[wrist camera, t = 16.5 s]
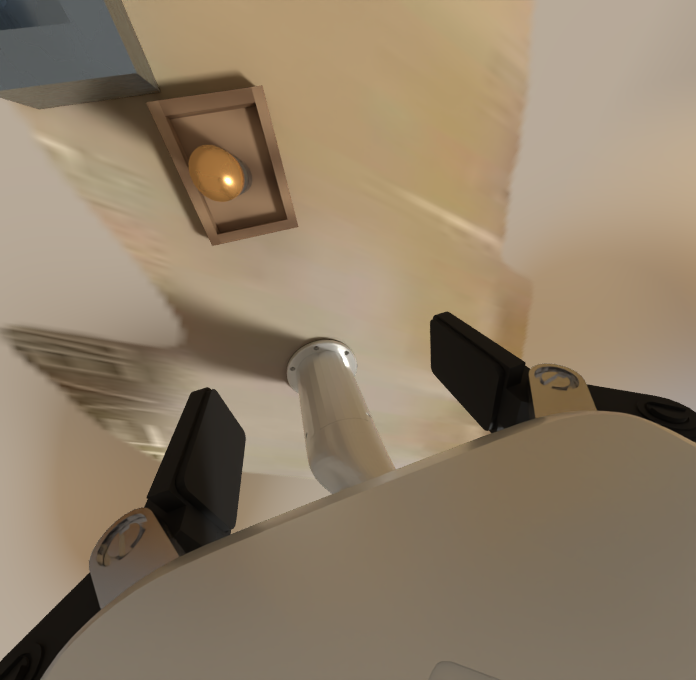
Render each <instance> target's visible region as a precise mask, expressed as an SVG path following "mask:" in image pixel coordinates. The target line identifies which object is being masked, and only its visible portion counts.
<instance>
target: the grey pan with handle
mask: <svg viewBox="0 0 696 680" xmlns="http://www.w3.org/2000/svg"><path fill="white" fill-rule="evenodd" d="M158 92H160V89H159V87H158V85H157V82H156V80H155V78H154V75H153V73H152V71H151V68H150V66H149V64H148V61H147V59H146V57H145V55H144V52H143V50H142V48H141V45H140V43H139V41H138V38H137V36H136V34H135V31H134V29H133V27H132V24H131V22H130V20H129V17H128V15H127V13H126V10H125V8H124V6H123V3H122V1H121V0H0V98H3V99H7V100H10V101H13V102H17V103H20V104H23V105H26V106H30V107H33V108H36V109H45V108H52V107H59V106H66V105H73V104H80V103H87V102H94V101H101V100H109V99H116V98H123V97H130V96H137V95H144V94H151V93H158Z"/></svg>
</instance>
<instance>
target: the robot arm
mask: <svg viewBox="0 0 696 680" xmlns="http://www.w3.org/2000/svg"><path fill="white" fill-rule="evenodd" d="M430 342H431V369H432V372H433V374H434V375H435V376H436V377H437V378H438V379H439V380H440V381H441V383H442V384H443V385H444V386H445V387H446V388H447V389H448V390H449V391H450V393H451V394H452V395H453V396H454V397H455V398H456V399H457V400H458V401H459V403H460V404H461V405H462V406H463V407H464V408H465V409H466V410H467V411H468V412H469V414H470V415H471V416H472V417H473V418H474V419H475V420H476V421H477V422H478V424H479V425H480V426H481V427H482V428H483V429H484V430H486V431H488V430H489V431H490V432H491V434H489V435H486V436H483V437H480V438H478V439H475V440H472V441H470V442H467V443H464V444H462V445H459V446H457V447H454V448H451V449H449V450H446V451H443V452H441V453H438V454H436V455H433V456H430V457H428V458H425V459H422V460H420V461H417V462H415V463H412V464H409V465H407V466H404V467H402V468H399V469H395V467H394V465H393V463H392V461H391V459H390V457H389V455H388V453H387V451H386V449H385V446H384V444H383V442H382V440H381V437H380V435H379V433H378V430H377V428H376V426H375V424H374V421H373V419H372V417H371V414H370V412H369V410H368V407H367V405H366V403H365V400H364V398H363V396H362V393H361V391H360V389H359V386H358V384H357V382H356V379H355V374H356V371H357V361H356V357H355V355H354V353H353V352H352V351H351V349H350V348H349V347H348V346H346V345H345V344H343V343H341V342H338V341H334V340H319V341H315V342H312V343H309V344H307V345H305V346H303V347H302V348H300V349H299V350H298V351H297V352H296V353H295V354H294V355H293V356H292V357H291V359H290V361H289V363H288V367H287V379H288V382H289V384H290V386H291V387H292V389H293V390H294V391H296V392H297V393H299V399H300V406H301V414H302V421H303V428H304V436H305V443H306V450H307V457H308V463H309V466H310V469H311V471H312V473H313V475H314V477H315V478H316V479H317V481H318V482H319V483H320V484H321V485H322V486H323V487H324V488H325V489H327V490H328V491H329V492H330V493H332V495H329V496H327V497H324V498H321V499H319V500H316V501H314V502H311V503H309V504H306V505H304V506H301V507H299V508H296V509H293V510H291V511H288V512H286V513H283V514H281V515H279V516H276V517H273V518H271V519H268V520H265V521H263V522H260V523H258V524H255V525H253V526H250V527H248V528H246V529H243V530H241V531H239V532H236V533H233V534H231V535H230V533H231V529H233V528H234V527H235V524H236V517H237V509H238V501H239V492H240V484H241V475H242V466H243V458H244V449H245V441H246V437H245V433H244V430H243V429H242V427H241V426H240V425H239V423H238V422H237V420H236V419H235V417H234V416H233V414H232V413H231V411H230V410H229V408H228V407H227V405H226V404H225V403H224V401H223V400H222V398H221V397H220V395H219V394H218V392H217V391H216V390H215V389H212V390H211V389H210V388H208V387H207V388H203V389H200V390H197V391H194V392H192V393H191V394H190V396H189V399H188V401H187V403H186V406H185V408H184V410H183V413H182V415H181V417H180V420H179V422H178V424H177V427H176V429H175V432H174V434H173V436H172V439H171V441H170V443H169V446H168V448H167V450H166V453H165V455H164V457H163V460H162V462H161V465H160V467H159V469H158V472H157V474H156V476H155V479H154V481H153V483H152V486H151V488H150V491H149V493H148V495H147V499H148V500H147V502H146V505H145V507H144V508H138V509H134V510H132V511H130V512H129V513H127V514H125V515H124V516H122V517H121V518H120V519H118V520H117V521H116V522H115V523H114V524H113V525H112V526H111V527H110V528H108V530H106V532H105V533H104V534H103V536H102V537H101V538H100V539H99V541H98V542H97V544H96V546H95V548H94V549H93V551H92V554H91V557H90V560H89V570H90V573H89V574H88V575H87V576H86V577H85V578H84V579H83V580H82V581H81V582H80V583H79V584H78V585H77V586H76V587H75V588H74V589H73V590H72V591H71V592H70V593H69V594H68V595H66V596H65V597H64V599H62V600H61V602H59V603H58V605H56V606H55V608H53V609H52V610H51V612H49V614H47V615H46V616H45V617H44V618H43V619H42V620H41V621H40V622H39V624H37V625H36V627H34V628H33V629H32V630H31V631H30V632H29V633H28V634H27V635H26V636H25V637H24V638H23V639H22V641H20V642H19V643H18V644H17V645H16V646H15V647H14V648H13V649H12V650H11V651H10V652H9V653H8V654H7V655H6V656H5V657H4V658H3V660H2V661H1V662H0V680H696V412H694V411H693V410H691V409H690V408H688V407H686V406H684V405H682V404H680V403H678V402H675V401H672V400H670V399H666V398H662V397H657V396H653V395H647V394H641V393H635V392H629V391H623V390H617V389H610V388H605V387H599V386H593V385H587V384H586V382H585V380H584V379H583V377H582V376H581V375H580V374H578V373H577V372H576V371H574V370H572V369H570V368H567V367H564V366H561V365H557V364H538V365H535V366H533V367H532V368H531V369H530V368H528V367H527V366H525V362H524V361H522V360H521V359H519V358H518V357H516V356H515V355H513V354H512V353H510V352H509V351H507V350H506V349H504V348H503V347H501V346H500V345H498V344H497V343H495V342H494V341H492V340H491V339H489V338H488V337H486V336H484V335H483V334H481V333H480V332H478V331H477V330H475V329H474V328H472V327H471V326H469V325H468V324H466V323H465V322H463V321H462V320H460V319H459V318H457V317H456V316H454V315H453V314H451V313H450V312H444V313H441V314H437V315H435V316H434V317H433V319H432V320H431V321H430Z"/></svg>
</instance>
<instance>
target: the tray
mask: <svg viewBox="0 0 696 680" xmlns="http://www.w3.org/2000/svg"><path fill="white" fill-rule="evenodd" d="M146 104H147V106H148V108H149V110H150V113H151V115H152V117H153V119H154V121H155V123H156V126H157V128H158V130H159V132H160V134H161V136H162V138H163V141H164V143H165V145H166V147H167V149H168V151H169V154H170V156H171V158H172V160H173V162H174V164H175V167H176V169H177V171H178V173H179V175H180V177H181V179H182V182H183V184H184V186H185V188H186V190H187V192H188V195H189V197H190V199H191V201H192V203H193V205H194V208H195V210H196V212H197V214H198V216H199V218H200V220H201V223H202V225H203V227H204V229H205V231H206V233H207V236H208V238H209V240H210V242H211V244H212V246H214V245H219V244H223V243H228V242H232V241H237V240H241V239H246V238H250V237H255V236H259V235H264V234H268V233H273V232H277V231H282V230H286V229H291V228H295V227H298V224H297V220H296V216H295V212H294V208H293V204H292V200H291V196H290V192H289V188H288V184H287V180H286V177H285V173H284V169H283V165H282V161H281V157H280V153H279V149H278V145H277V141H276V137H275V133H274V129H273V126H272V122H271V118H270V114H269V110H268V106H267V102H266V98H265V94H264V90H263V86H255V87H248V88H241V89H234V90H227V91H221V92H214V93H207V94H200V95H193V96H186V97H179V98H172V99H165V100H158V101H151V102H146ZM203 145H213V146H217V147H219V148H221V149H223V150H225V151H226V152H228V153H230V154H232V155H233V156H235V157H237V158H239V159H240V160H242V161H243V162H244V163H245V164H246V165H247V166H248V167H249V169H250V171H251V174H252V185H251V187H250V189H249V190H248V191H246V192H245V193H243V194H241V195H239V196H237V197H235V198H234V199H232V200H230V201H226V202H218V201H214V200H211V199H209V198H207V197H206V196H204V195H203V194H202V193H201V192H200V191H199V190H198V189H197V188H196V186H195V185H194V183H193V181H192V179H191V177H190V173H189V159H190V156H191V154H192V152H193V151H194V150H195V149H196V148H198V147H200V146H203Z"/></svg>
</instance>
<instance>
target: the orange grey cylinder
mask: <svg viewBox="0 0 696 680" xmlns="http://www.w3.org/2000/svg"><path fill="white" fill-rule="evenodd" d="M189 173H190V177H191V179H192V181H193V183H194V185H195V186H196V188H197V189H198V190H199V191H200V192H201V193H202V194H203V195H204V196H206V197H207V198H209V199H211V200H214V201H218V202H226V201H230V200H232V199H234V198H235V197H237V196H239V195H241V194H243V193H245V192H246V191H248V190H249V189H250V187H251V185H252V174H251V171H250V169H249V167H248V166H247V165H246V164H245V163H244V162H243V161H242V160H240V159H239V158H237V157H235V156H233V155H232V154H230V153H228V152H226V151H225V150H223V149H221V148H219V147H217V146H213V145H203V146H200V147H198V148H196V149H195V150H194V151H193V152H192V154H191V156H190V159H189Z"/></svg>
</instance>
